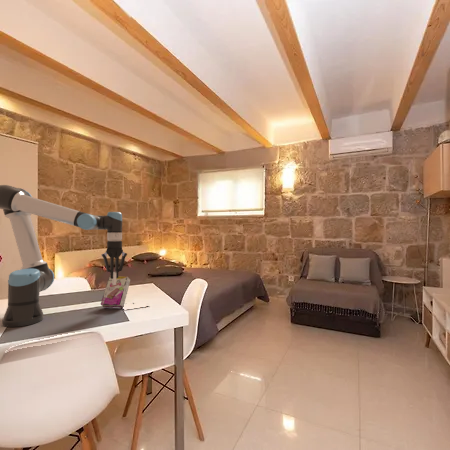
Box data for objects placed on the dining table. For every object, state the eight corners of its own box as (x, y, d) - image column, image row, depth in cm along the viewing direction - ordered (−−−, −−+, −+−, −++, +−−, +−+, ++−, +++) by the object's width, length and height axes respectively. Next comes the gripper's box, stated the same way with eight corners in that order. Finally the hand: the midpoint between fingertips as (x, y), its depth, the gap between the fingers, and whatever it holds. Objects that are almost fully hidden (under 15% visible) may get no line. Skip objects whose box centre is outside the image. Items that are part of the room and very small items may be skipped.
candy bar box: (99, 304, 145) (108, 276, 154) (104, 307, 149) (112, 279, 158) (120, 304, 144) (127, 275, 153) (123, 307, 148) (131, 279, 157)
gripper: (102, 241, 140) (102, 287, 140) (128, 240, 148) (128, 284, 147) (100, 240, 147) (99, 284, 146) (125, 240, 154) (125, 282, 153)
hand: (114, 284), depth 147 cm, fingers closed
